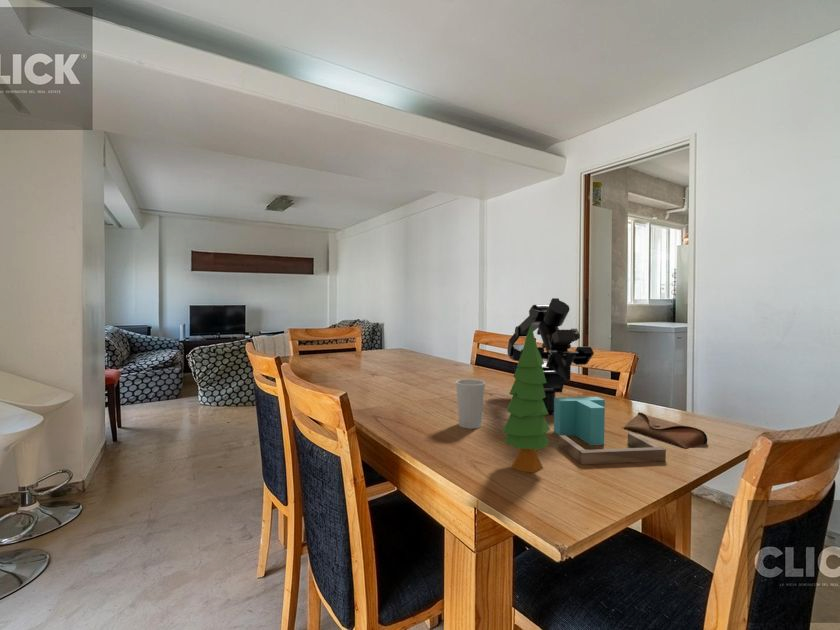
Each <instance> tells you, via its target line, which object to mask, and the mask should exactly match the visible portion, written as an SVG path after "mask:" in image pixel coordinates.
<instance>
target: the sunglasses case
mask: <svg viewBox="0 0 840 630" xmlns="http://www.w3.org/2000/svg"><path fill="white" fill-rule="evenodd" d="M623 428H624V430H627V429H628V431H630V430H631V432H633V433H637V432H638V433H637V434H640V433H641V435H644V436H647V437H650V438H654V439H656V440H659V441H663V442H666V443H668V442H669V444H671V443H672V444H671V445H675V446H677V447H679V448H683V449H685V450H687V449H690V448H691V449H692V448H695V447H699V446H703V445H707V444H708V436H707V434H706V433H705V431H704V430H701V429H700V428H696V427H692V426H688V425H683V424H679V423H677V422H673V421H669V420H667V419H662V418H659V417H655V416H651V415H649V414H648V415H647V414H646V413H643V412H637V414H636V415H635V416H634V417H633V418H632V419H631V420H629V421H628V423H626V424H625V425H624V426H623V427H621V429H623Z"/></svg>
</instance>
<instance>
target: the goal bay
mask: <svg viewBox="0 0 840 630" xmlns="http://www.w3.org/2000/svg"><path fill="white" fill-rule="evenodd" d="M627 444H628V445H630V446H632V447H629V448H627V447H625V448H600V449H585V448H584V447H582V446H580V445H579V444H578V443H576V442H575V441H574V440H572V439H571V438H569V436H565V435H558V446H559V447H560V448H561V449H562V450H563V451H564V452H566V453H567V454H569V456H571V457H572V458H573V459H575V460H576V461H577V462H578V463H579V464H581V465H583V466H584V465H598V464H599V465H601V464H602V465H604V464H605V465H606V464H623V463H624V464H626V463H625V462H630V463H649V462H651V461H653V462H666V459H667V457H666V453H667V450H666V449H665V447H662V446H661V445H660V446H659V445H658V444H656V443H654V442H653V441H651V440H649V439H646V438H645V437H642V436H640V435H638V433H636V432H627Z"/></svg>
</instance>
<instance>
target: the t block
mask: <svg viewBox="0 0 840 630" xmlns="http://www.w3.org/2000/svg"><path fill="white" fill-rule="evenodd" d="M605 404H606V399H603V398H601V397H599V396H575V397H574V396H573V397H572V396H571V397H570V396H567V397H566V396H565V397H555V398H554V414H553V416H554V417H553V432H555V433H556V435H558V436H559V435H565V436H567V437H570V436H576V437H577V438H579V439H581V440H582V441H583V442H585V443H586V444H588V445H589V446H602V445H603V446H604V445H605V418H606V417H605V415H606V413H605V412H606V409H605V408H606V406H605Z"/></svg>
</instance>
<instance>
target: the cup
mask: <svg viewBox="0 0 840 630" xmlns="http://www.w3.org/2000/svg"><path fill="white" fill-rule="evenodd" d="M455 383H456V397H457V409H458V410H457V413H458V426H459V427H460V428H463V429H470V430H471V429H472V430H473V429H479V428H481V427H482V423H483V420H482V418H483V409H484V408H483V406H484V397H485V396H484V395H485V387H486V381H484V380H480V379H475V378H473V379H471V378H463V379H459V380H456V381H455Z"/></svg>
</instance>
